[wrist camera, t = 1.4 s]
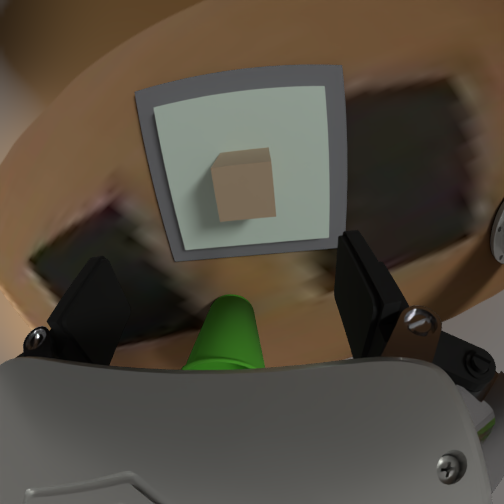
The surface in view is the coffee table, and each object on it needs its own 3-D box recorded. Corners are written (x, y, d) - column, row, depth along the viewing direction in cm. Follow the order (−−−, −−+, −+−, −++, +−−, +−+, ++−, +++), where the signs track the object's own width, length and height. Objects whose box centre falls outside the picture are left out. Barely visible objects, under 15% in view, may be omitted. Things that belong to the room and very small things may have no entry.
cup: (228, 341, 37) (221, 411, 28) (181, 302, 33) (159, 376, 24) (283, 314, 34) (289, 391, 25) (237, 267, 30) (228, 348, 21)
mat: (339, 65, 19) (342, 65, 18) (342, 244, 28) (344, 247, 28) (137, 91, 20) (134, 91, 20) (176, 258, 30) (175, 261, 29)
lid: (321, 86, 19) (342, 84, 14) (326, 231, 27) (341, 268, 22) (158, 106, 21) (127, 112, 15) (188, 243, 28) (172, 281, 23)
